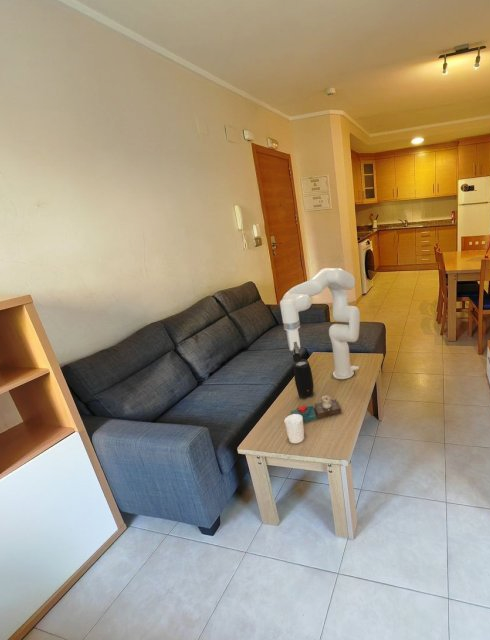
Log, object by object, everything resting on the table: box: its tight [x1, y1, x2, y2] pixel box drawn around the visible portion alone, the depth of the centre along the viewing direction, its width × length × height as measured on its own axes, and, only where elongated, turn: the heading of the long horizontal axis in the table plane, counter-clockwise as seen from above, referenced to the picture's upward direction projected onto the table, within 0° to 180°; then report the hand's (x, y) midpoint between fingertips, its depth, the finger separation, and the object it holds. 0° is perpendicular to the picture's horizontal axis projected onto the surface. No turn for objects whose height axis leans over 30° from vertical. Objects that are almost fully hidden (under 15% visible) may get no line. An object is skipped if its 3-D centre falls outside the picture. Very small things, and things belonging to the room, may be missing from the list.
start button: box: [298, 405, 306, 413], centre depth 163 cm, size 4×4×2 cm
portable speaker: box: [293, 358, 314, 400], centre depth 181 cm, size 9×9×20 cm
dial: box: [321, 395, 332, 408], centre depth 165 cm, size 4×4×5 cm
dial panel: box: [313, 398, 342, 420], centre depth 167 cm, size 11×9×3 cm
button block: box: [290, 405, 317, 424], centre depth 164 cm, size 11×9×4 cm
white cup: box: [284, 414, 305, 444], centre depth 148 cm, size 8×8×10 cm
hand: (297, 360), depth 162 cm, fingers closed
